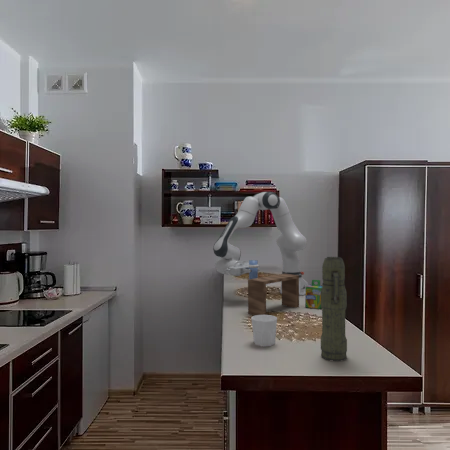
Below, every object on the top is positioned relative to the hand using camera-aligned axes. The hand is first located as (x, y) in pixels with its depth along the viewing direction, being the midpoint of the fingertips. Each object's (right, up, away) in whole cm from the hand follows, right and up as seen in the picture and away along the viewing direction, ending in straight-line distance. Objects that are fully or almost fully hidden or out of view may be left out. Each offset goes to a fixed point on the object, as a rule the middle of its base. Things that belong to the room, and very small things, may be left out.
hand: (254, 270), depth 217 cm
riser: (+10, -20, -10) cm, 24 cm away
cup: (-1, -21, -64) cm, 68 cm away
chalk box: (+33, -20, -3) cm, 39 cm away
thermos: (+22, -21, -80) cm, 85 cm away
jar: (-1, -6, +1) cm, 7 cm away
